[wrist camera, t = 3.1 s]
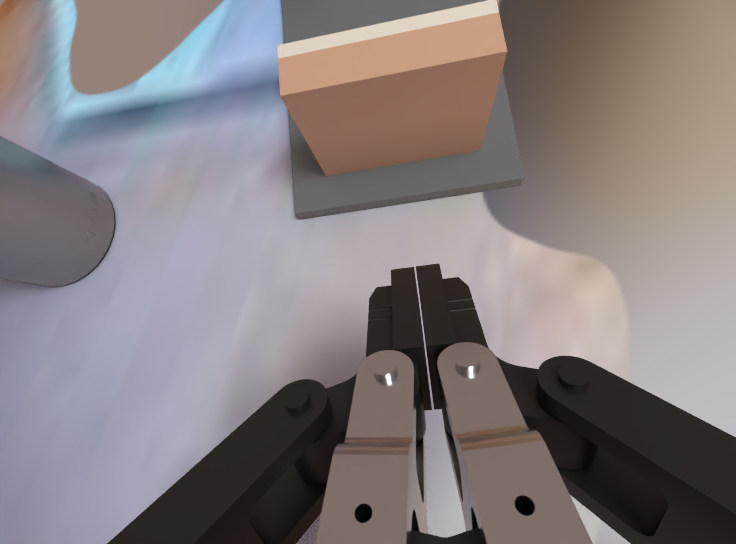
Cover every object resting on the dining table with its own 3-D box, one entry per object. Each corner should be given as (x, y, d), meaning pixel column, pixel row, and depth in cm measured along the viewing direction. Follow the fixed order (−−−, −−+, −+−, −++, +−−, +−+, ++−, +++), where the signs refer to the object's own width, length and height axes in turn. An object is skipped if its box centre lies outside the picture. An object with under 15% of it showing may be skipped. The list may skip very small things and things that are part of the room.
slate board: (300, 219, 29) (295, 213, 27) (284, -17, 33) (279, -30, 32) (520, 185, 27) (524, 177, 26) (470, -60, 32) (471, -76, 30)
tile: (326, 176, 28) (280, 95, 19) (322, 139, 28) (277, 44, 20) (480, 150, 26) (507, 51, 18) (473, 112, 27) (495, -2, 18)
